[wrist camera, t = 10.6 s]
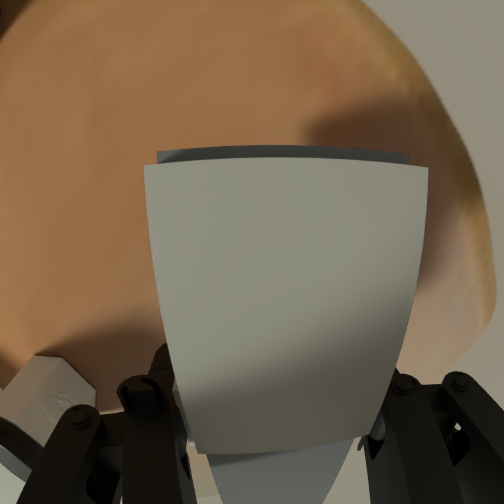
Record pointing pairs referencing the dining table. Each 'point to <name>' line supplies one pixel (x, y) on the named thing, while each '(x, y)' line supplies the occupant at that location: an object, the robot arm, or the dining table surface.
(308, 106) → the dining table surface
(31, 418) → the jar
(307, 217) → the grey rectangular block
